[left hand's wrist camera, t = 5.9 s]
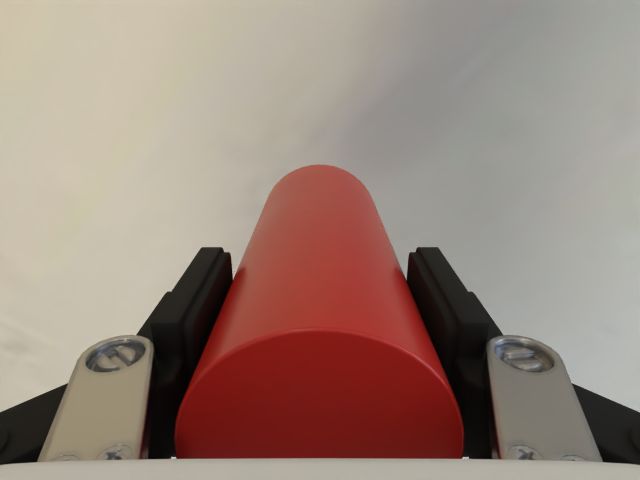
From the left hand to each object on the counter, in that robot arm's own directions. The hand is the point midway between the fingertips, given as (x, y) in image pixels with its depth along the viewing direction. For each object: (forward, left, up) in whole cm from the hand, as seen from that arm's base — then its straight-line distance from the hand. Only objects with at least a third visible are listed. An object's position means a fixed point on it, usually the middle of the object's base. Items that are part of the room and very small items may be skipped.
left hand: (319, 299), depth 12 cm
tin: (0, 0, -7) cm, 7 cm away
